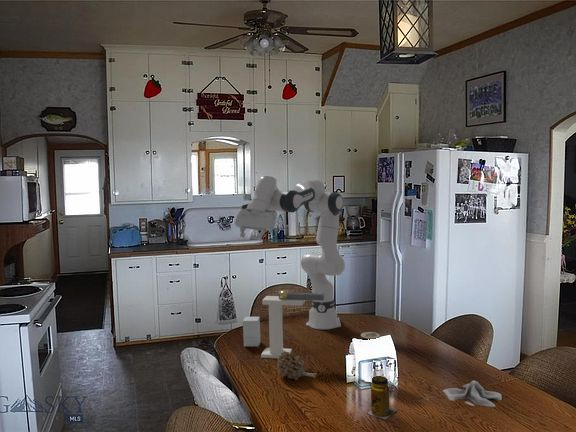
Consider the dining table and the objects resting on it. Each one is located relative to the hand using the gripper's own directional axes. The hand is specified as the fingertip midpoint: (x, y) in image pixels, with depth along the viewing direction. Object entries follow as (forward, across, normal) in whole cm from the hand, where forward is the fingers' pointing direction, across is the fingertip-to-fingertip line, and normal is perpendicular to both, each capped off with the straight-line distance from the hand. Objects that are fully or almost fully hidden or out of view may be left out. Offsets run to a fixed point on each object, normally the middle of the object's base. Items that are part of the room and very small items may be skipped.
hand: (250, 237), depth 223 cm
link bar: (+19, -20, -23) cm, 35 cm away
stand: (+43, -13, -32) cm, 55 cm away
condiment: (+54, -73, -7) cm, 91 cm away
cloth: (+41, -96, -33) cm, 110 cm away
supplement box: (+42, +9, -36) cm, 56 cm away
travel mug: (+44, -58, -28) cm, 78 cm away
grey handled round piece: (+52, -34, -14) cm, 64 cm away
